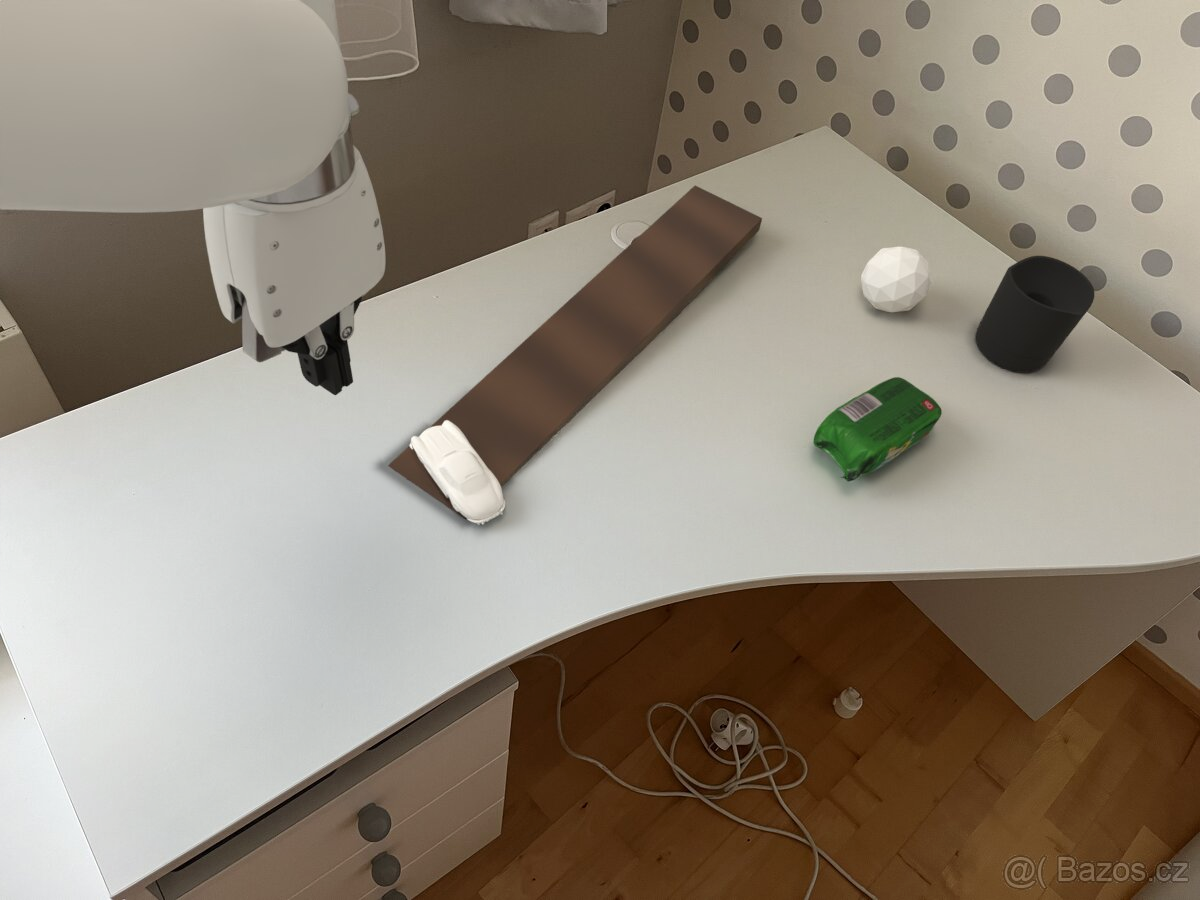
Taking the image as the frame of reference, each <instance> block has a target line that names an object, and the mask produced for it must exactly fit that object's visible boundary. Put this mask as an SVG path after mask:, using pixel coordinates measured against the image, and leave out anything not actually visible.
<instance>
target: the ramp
mask: <svg viewBox="0 0 1200 900" xmlns="http://www.w3.org/2000/svg"><path fill="white" fill-rule="evenodd" d="M762 221H763V218H762V217H761V216H758V215H757V214H754V213H753V212H751V211H748V210H747V209H744V208H742V207H740V206H738V205H736V204H734V203H732V202H730V201H728V200H726V199H724V198H722V197H720V196H718V195H716V194H714V193H711V192H710V191H708V190H705V189H703V188H702V187H699V186H697V185H694V186H693V187H691V188H690V189H689V190H688V191H686V193H684V195H683V196H682V197H681V198H680V199H678V200H677V201H676V202H675V203H673V205H671V207H669V208H668V209H667V210H666V211H665V212H664V213H662V215H660V216H659V218H657V219H656V220H655V221H654V222H653V223H652V224H651V225H650V226H649V227H647V229H645V230H644V231H643V232H642V233H641V234H640V235H639V236H637V237H636V239H634V240H633V241H632V242H631V243H630V244H629V245H628V246H626V248H624V249H623V250H622V251H621V252H620V253H618V255H617V256H615V258H614V259H612V260H611V261H610V262H609V263H608V264H607V265H606V266H605V267H603V268H602V270H600V271H599V272H598V273H597V274H596V275H595V276H593V278H591V280H590V281H588V282H587V283H586V284H585V285H583V286H582V287H581V289H579V290H578V291H577V292H576V293H575V294H574V295H573V296H572V297H571V298H569V300H567V301H566V302H565V303H564V304H563V305H562V306H561V307H560V308H559V309H557V310H556V311H555V312H554V313H553V314H552V315H551V316H550V317H549V318H547V320H546V321H545V322H543V323H542V324H541V325H540V326H539V327H538V328H537V329H536V330H535V331H534V332H532V333H531V334H530V335H528V337H527V338H526V339H524V341H523V342H521V343H520V344H519V345H518V346H517V347H516V348H515V349H514V350H513V351H512V352H511V353H510V354H508V355H507V356H506V357H505V358H504V359H503V360H501V362H499V363H498V364H497V365H496V366H495V367H494V368H493V369H492V370H491V371H490V372H489V373H487V374H486V375H485V376H483V378H482V379H481V380H479V382H478V383H476V384H475V385H474V386H473V387H472V388H471V389H469V391H468V392H467V393H466V394H464V396H462V397H461V398H460V399H459V400H458V401H457V402H456V403H454V405H452V406H451V407H450V408H449V409H448V410H447V411H446V412H445V413H444V414H443V415H442V416H440V417H439V418H438V419H437V420H436V421H435V422H433V424H432V425H430V427H434V426H441V425H442V424H443V423H444V421H446V420H448V421H450V422H452V423H453V424H454V425H456V426H457V427H458V428H459V429H460V430H461V431H462V433H463V434H464V435H465V437H466V438H467V440H468V442H469V443H470V445H471V446H472V447H473V449H474V450H475V451H476V452H477V454H478V455H479V457H480V458H481V459H482V461H483V462H484V463H485V465H486V466H487V468H488V469H489V470H490V471H491V472H492V473H493V474H494V476H495V477H496V479H497V480H498V482H499V484H500V486H501V487H503V486H504V485H505V484H506V483H507V482H508V481H509V480H510V479H511V478H512V477H513V476H514V475H515V474H516V473H518V471H519V470H520V469H521V468H522V467H523V466H525V464H527V462H529V461H530V459H531V458H533V457H534V456H535V455H536V454H537V453H538V452H539V451H540V450H541V449H542V448H543V447H544V446H545V445H546V444H547V443H548V442H550V440H551V439H552V438H553V437H554V436H555V435H557V434H558V432H559V431H561V430H562V428H564V427H565V426H566V425H567V424H568V423H569V422H570V421H572V419H573V418H574V417H575V416H576V415H577V414H578V413H579V412H580V411H582V409H584V408H585V406H586V405H587V404H588V403H590V402H591V401H592V400H593V399H594V398H595V397H596V396H597V395H598V394H599V393H600V392H601V391H602V390H603V389H604V388H605V387H606V386H607V385H608V384H609V383H610V382H611V381H612V380H613V379H615V377H616V376H617V375H619V374H620V373H621V372H622V371H623V370H624V369H625V368H626V367H627V366H628V365H629V364H630V363H631V362H632V361H634V359H635V358H636V357H637V356H638V355H639V354H640V353H641V352H642V351H644V350H645V348H646V347H647V346H648V345H650V344H651V343H652V342H653V340H655V339H656V338H657V337H658V335H659V334H661V332H663V330H664V329H665V328H666V327H667V326H668V325H669V324H670V323H671V322H672V321H673V320H674V319H675V318H676V317H677V316H678V315H679V314H680V313H681V312H682V311H683V310H684V309H685V308H686V307H687V306H688V305H689V304H690V303H691V302H692V301H693V299H695V298H696V296H698V294H699V293H700V292H701V291H702V290H703V289H704V288H705V287H707V285H708V284H709V283H710V282H711V281H712V280H713V279H714V278H715V277H716V276H717V275H718V274H719V273H720V272H721V270H723V269H724V268H725V267H726V265H727V264H729V262H730V261H731V260H732V259H733V258H734V257H736V255H737V254H738V253H739V252H740V251H741V250H742V249H743V248H744V247H745V246H746V245H747V244H748V243H749V242H750V240H752V238H753V237H755V236H756V235H757V233H758V232H759V231H760V229H761V225H762ZM412 448H413V446H412ZM387 466H388V467H389V468H390V469H392V470H393V471H395V472H396V473H397V474H399V475H400V476H402V477H403V478H404V479H406V480H407V481H409V482H410V483H412V484H414V485H415V486H417V487H418V488H419V489H421V490H422V491H423V492H425V493H427V494H428V495H429V496H431V497H432V498H434V499H435V500H437V501H438V502H439V503H441V504H442V505H444V506H446V507H447V508H449V509H450V510H451V511H453V512H454V513H456V514H457V515H458V516H460V517H461V518H463V519H464V520H467V519H468V518H466V517H465V516H463V515H462V514H461V513H460V511H459V512H458V511H456V510H455V508H454V507H453V505H452V503H451V501H450V497H449V498H447V497H446V496H445V495H444V493H443V492H442V490H441V489H440V488H439V486H438V485H437V483H436V482H435V481H434V479H433V478H432V476H431V475H430V474H429V472H428V471H427V469H426V468H425V466H424V464H423V463H422V462H421V461H420V459H419V458H418V456H417V453H416V451H415V450H414V448H413V450H412V449H411V448H410V445H409V446H408V447H406V448H405V449H404V450H403V451H402V452H401V453H399V455H397V456H396V457H395V458H394V459H393V460H392V461H391V462H390V463H389V464H388V465H387ZM445 479H446V478H445ZM448 483H449V482H448ZM449 484H450V483H449Z"/></svg>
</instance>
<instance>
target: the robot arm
mask: <svg viewBox="0 0 1200 900" xmlns="http://www.w3.org/2000/svg"><path fill="white" fill-rule="evenodd" d="M360 110H361V109H360V105H359V103H358V100H357V99H356V97H355V96H354V95H353V94H352V93H349V81H348V72H347V68H346V64H345V61H344V56H343V54H342V48H341V41H340V33H339V26H338V18H337V11H336V3H335V0H0V210H3V211H8V210H9V211H50V212H52V211H53V212H81V213H82V212H87V213H128V214H129V213H134V214H135V213H136V214H137V213H139V214H140V213H169V212H170V213H171V212H185V211H195V210H202V214H203V227H204V229H203V230H204V237H205V239H204V240H205V245H206V252H207V256H208V263H209V267H210V273H211V277H212V281H213V287H214V289H215V290H214V291H215V294H216V298H217V303H218V304H219V308H220V311H221V313H222V315H223V316H224V318H225V319H227V320H228V321H229V322H230V323H232V324H235V323H237V322H238V321H240V320H241V335H242V338H241V339H242V343H241V344H242V352H243V353H244V354H246V355H247V356H248V357H250V358H251V359H253V360H254V361H256V362H257V363H263V362H266V361H267V360H270V359H272V358H274V357H277V356H280V355H281V354H282V352H285V351H287V352H290V353H294V354H297V357H298V358H297V359H298V362H299V366H300V370H301V374H302V376H303V378H304V379H305V380H306V381H307V382H308V383H309V384H311V385H312V386H314V387H319V386H320V387H322V388H323V389H325V390H326V391H327V392H329V393H330V394H332V395H333V396H337V395H339V394H340V393H341V392H342V391H343V388H344V387H346V388H347V387H350V386H351V384H353V383H354V379H353V378H354V376H353V372H352V366H351V361H352V360H351V354H350V347H349V343H348V342H349V341H348V340H349V339H351V337H353V334H354V332H355V314H356V312H357V310H358V309H359V306H360V304H361V302H362V298H363V297H366V295H367V294H368V293H369V292H370V291H371V290H372V289H373V288H374V287H376V286H377V284H378V283H380V281H381V280H382V278H383V277H384V275H385V271H386V263H387V262H386V257H387V256H386V246H385V239H384V238H385V237H384V232H383V225H382V221H381V214H380V211H379V206H378V202H377V198H376V195H375V190H374V187H373V184H372V180H371V178H370V175H369V172H368V169H367V166H366V164H365V162H364V160H363V157H362V154H361V152H360V151H359V149H358V148H357V147H356V146H355V145H354V141H353V140H354V139H353V132H352V126H351V122H352V120H353V118H355V117H357V116H358V115H359V114H360Z"/></svg>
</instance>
